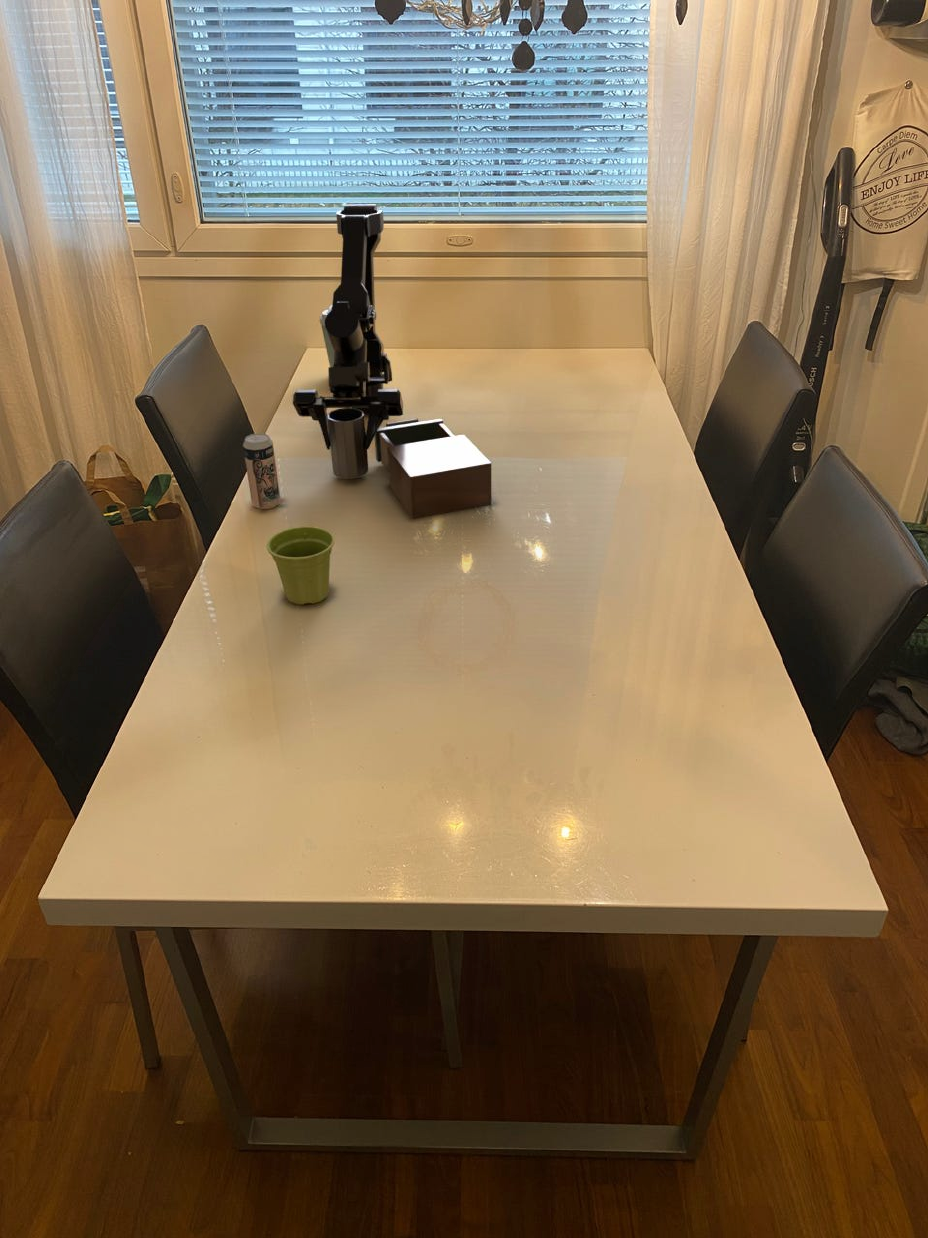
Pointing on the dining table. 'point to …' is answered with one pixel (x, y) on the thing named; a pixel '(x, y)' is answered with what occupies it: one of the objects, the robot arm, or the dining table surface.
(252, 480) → the beer can
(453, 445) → the cabinet
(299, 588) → the plant pot
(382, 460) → the drawer
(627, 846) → the dining table surface
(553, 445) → the dining table surface
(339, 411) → the tapered cup
